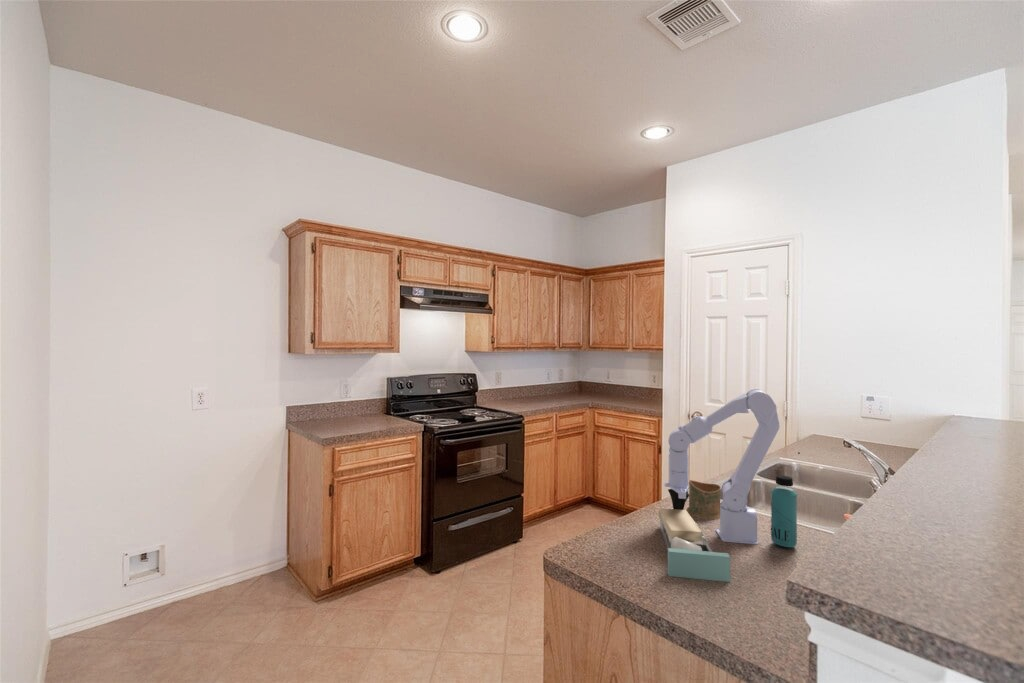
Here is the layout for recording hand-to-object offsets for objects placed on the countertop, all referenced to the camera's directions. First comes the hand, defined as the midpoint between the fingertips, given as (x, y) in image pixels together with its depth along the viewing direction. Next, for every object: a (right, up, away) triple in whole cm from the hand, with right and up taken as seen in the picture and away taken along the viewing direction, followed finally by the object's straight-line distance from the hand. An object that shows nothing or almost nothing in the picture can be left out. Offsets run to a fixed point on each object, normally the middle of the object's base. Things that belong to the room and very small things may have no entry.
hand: (678, 514), depth 139 cm
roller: (-6, -3, -18) cm, 19 cm away
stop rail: (-5, -5, -28) cm, 29 cm away
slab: (-3, -1, -9) cm, 9 cm away
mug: (+17, -5, +12) cm, 21 cm away
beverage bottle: (+25, -5, -12) cm, 28 cm away
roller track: (-3, -5, -14) cm, 15 cm away
